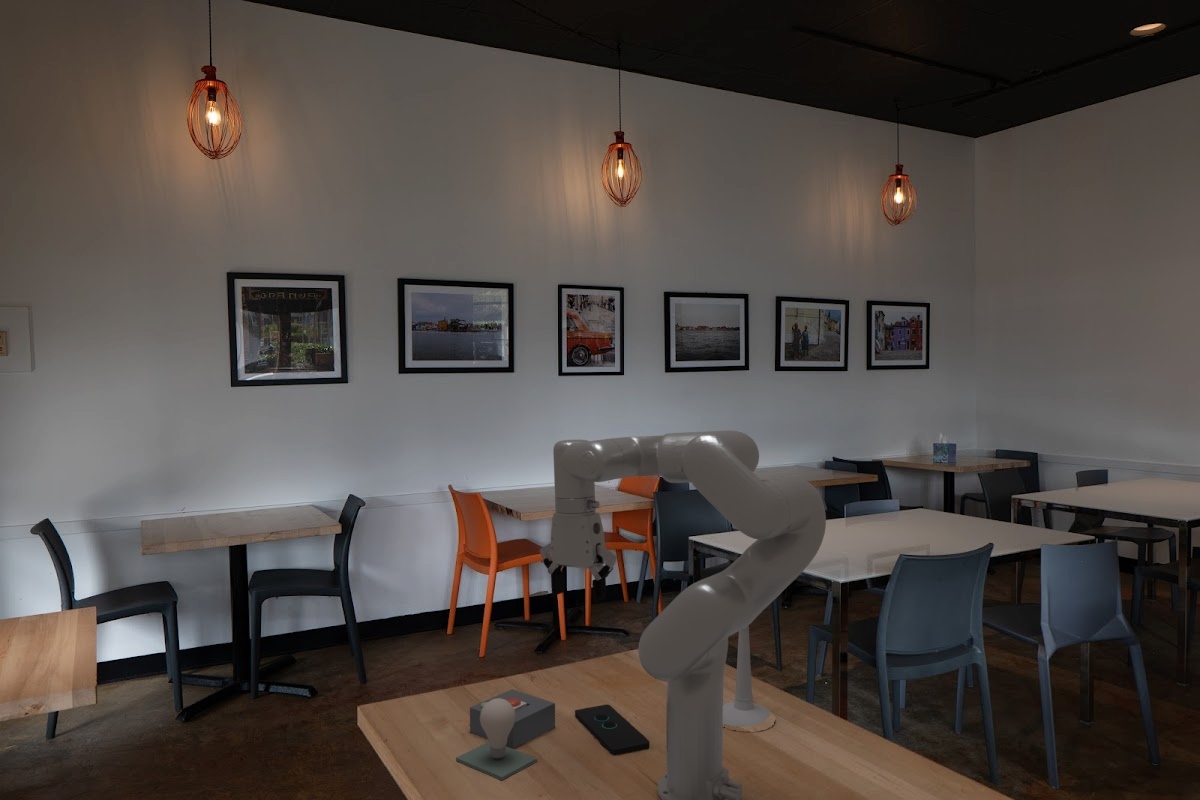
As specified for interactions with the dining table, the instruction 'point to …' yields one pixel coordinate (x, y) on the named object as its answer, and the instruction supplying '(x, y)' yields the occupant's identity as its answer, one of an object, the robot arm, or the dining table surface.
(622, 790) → the dining table surface
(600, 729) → the smart home device
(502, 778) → the mat
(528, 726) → the grey button control box
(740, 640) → the candlestick
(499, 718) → the light bulb
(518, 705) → the button
